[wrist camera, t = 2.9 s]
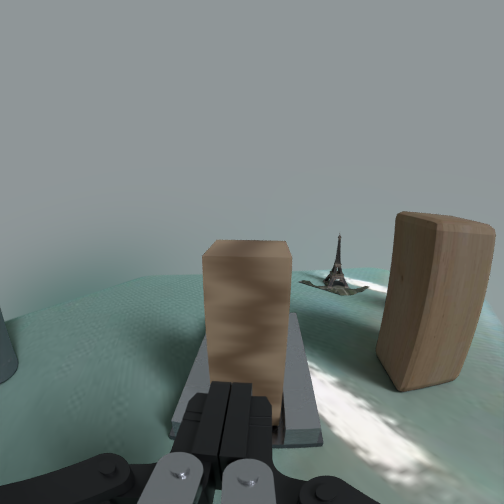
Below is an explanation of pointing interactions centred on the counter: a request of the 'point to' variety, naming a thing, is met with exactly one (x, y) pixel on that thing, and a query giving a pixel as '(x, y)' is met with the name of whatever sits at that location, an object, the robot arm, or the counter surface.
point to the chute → (293, 398)
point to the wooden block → (433, 297)
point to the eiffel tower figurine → (337, 286)
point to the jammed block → (248, 314)
